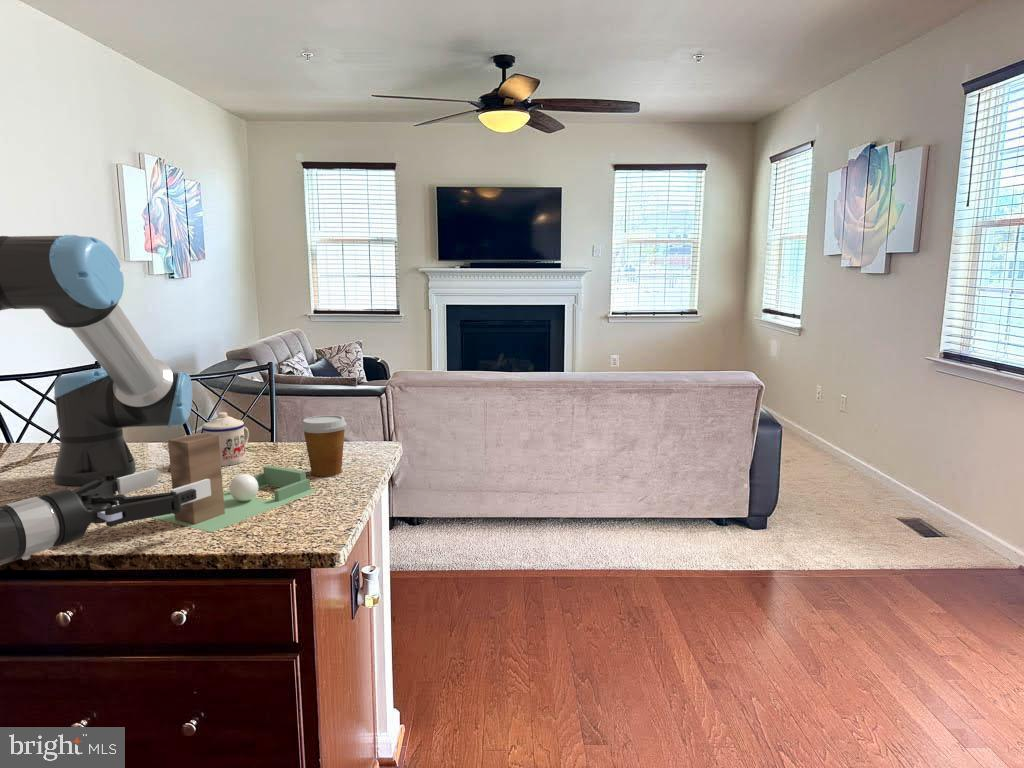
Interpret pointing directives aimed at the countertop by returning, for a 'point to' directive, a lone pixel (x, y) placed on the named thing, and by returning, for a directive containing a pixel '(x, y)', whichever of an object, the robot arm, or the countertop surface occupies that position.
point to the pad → (237, 511)
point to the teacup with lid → (229, 438)
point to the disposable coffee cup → (324, 443)
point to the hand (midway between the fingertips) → (181, 481)
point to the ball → (243, 487)
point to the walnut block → (197, 474)
